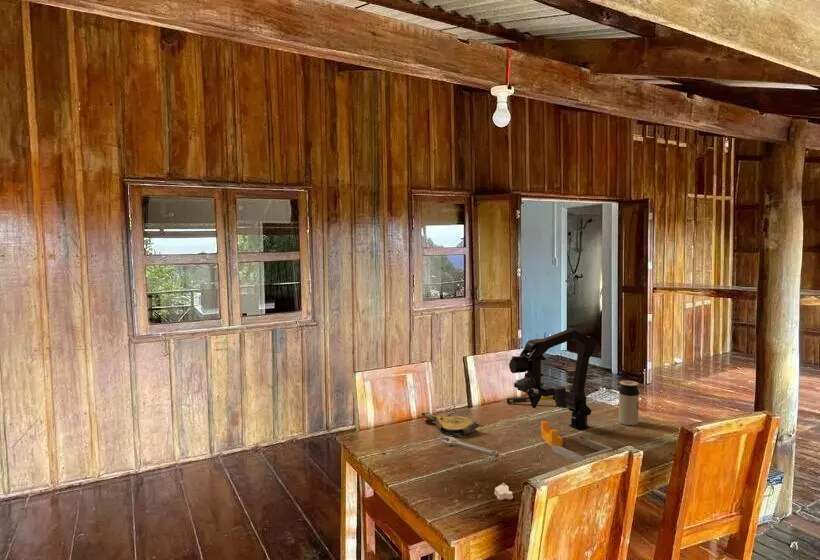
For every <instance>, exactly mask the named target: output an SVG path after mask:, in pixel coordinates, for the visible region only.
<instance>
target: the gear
mask: <svg viewBox="0 0 820 560" xmlns="http://www.w3.org/2000/svg"><path fill="white" fill-rule="evenodd" d="M509 487H510V486H508V485H507V484H506V483H505V482H502V484H499V485H498V486H496V487H495V488H494V492H493V493H494V494H495V496H496V498H497V500H500V501H503V500H513V499H514V495H513V491H510V490H509V489H510V488H509Z"/></svg>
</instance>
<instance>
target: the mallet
mask: <svg viewBox="0 0 820 560" xmlns="http://www.w3.org/2000/svg"><path fill="white" fill-rule="evenodd" d="M553 388H554V389H555V395H553V396H548V397H543V396H542V397H541V398H540V400H539V402H540V401H549V400H550V401H551V400H553V401H554V402H555V405H556V407H557V406H558V408H564V407H568V406H567V405H566V400H565V398H566V392H567V389H566V386H563V385H561V386H558V385H557V386H555V387H553ZM529 402H530V399H529V396H521V397H519V396H518V397H506V404H507V405H508V404H522V403H529ZM530 403H531V402H530Z"/></svg>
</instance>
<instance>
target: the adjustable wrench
mask: <svg viewBox="0 0 820 560" xmlns="http://www.w3.org/2000/svg"><path fill="white" fill-rule="evenodd" d="M447 440H448V441H447ZM441 443H442V445H443V444H444V446H447V447H451V446H450V445H453V446H452V447H459V446H460V447H459V448H463V449H466V448H467V450H471V451H474V452H477V453H481V454H485V455H488V456H492V457H497V456H498V454H499V453H498V451H497V450H494V449H490V448H487V447H482V446H478V445H475V444H471V443H467V442H464V441H460V440H458V439H457V438H455V437H454V436H443V437H442V439H441V440H440V444H441Z"/></svg>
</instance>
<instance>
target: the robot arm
mask: <svg viewBox="0 0 820 560" xmlns="http://www.w3.org/2000/svg"><path fill="white" fill-rule="evenodd" d="M569 341H572V342H573V343H575V351H576V354H577V358H576V363H575V370H574V375H573V382H572V388H571V389H570V390H569V391H568V390H566V398H565V400H566V405H567V406H566V407H568V411H571V417H570V418H571V419H570V422H571V423H570V424H568V426H569V427H570V428H573V429H576V430H579V431H581V430H586V429H589V428H591V426H590V425H588V416H591V414H592V409H591V408H590V407H589V406H588V405H587V396H586V392H585V386H586V381H587V374H588V368H589V363H590V358H591V356H593V354H594V353H595V350H596V347H597V341H596V339H595V338H594V337H592V336H588V335H585V334H583V333H581V332H579V331H577V330H576V329H573V328H567V329H565V330H563V331H560V332H558V333H554V334H553V335H550V336H547V337H545V338H535V339H529V340H527V341H526V343H525V345H524V348H523V349H522V351H521V352H520V354H519V355H517V356H516V355H515V356H514V355H513V356H511V359H510V361H509V364H508V367H509V371H510V372H511V373H512V374H518V373H519V374H520V373H524V377H522V378H520V379H516V380H514V383H513V388H515V389H517V390H518V391H521V392H522V393H525V394H526V395H527V397H529V399H530V404H531V408H532V409H536V408H537V407H538V403H539V402H540V401H541V400H540V398H541V397H542V396H543V397H548V396H553V395H555V389H554V388H555V387H552V386H548V385H547V386H544V382H542V377H544V373H542V361H546V360H547V358H546V357H545V356H544V354H545V353H547V352H548V350H550V349H551V348H553V347H556V346H559V345H561V344H565V343H566V342H569ZM539 400H540V401H539Z"/></svg>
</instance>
